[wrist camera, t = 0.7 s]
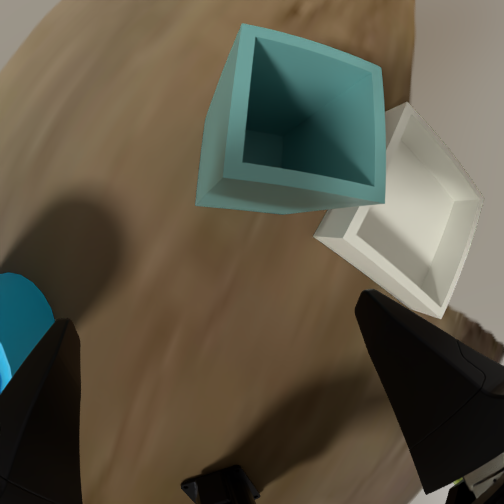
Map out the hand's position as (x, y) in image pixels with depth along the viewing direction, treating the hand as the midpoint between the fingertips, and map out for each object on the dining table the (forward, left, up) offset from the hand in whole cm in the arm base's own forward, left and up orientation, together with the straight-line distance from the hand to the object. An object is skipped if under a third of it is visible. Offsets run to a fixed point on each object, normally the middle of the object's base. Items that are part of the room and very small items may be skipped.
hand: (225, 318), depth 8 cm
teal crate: (+5, -6, -14) cm, 16 cm away
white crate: (-3, -19, -13) cm, 23 cm away
